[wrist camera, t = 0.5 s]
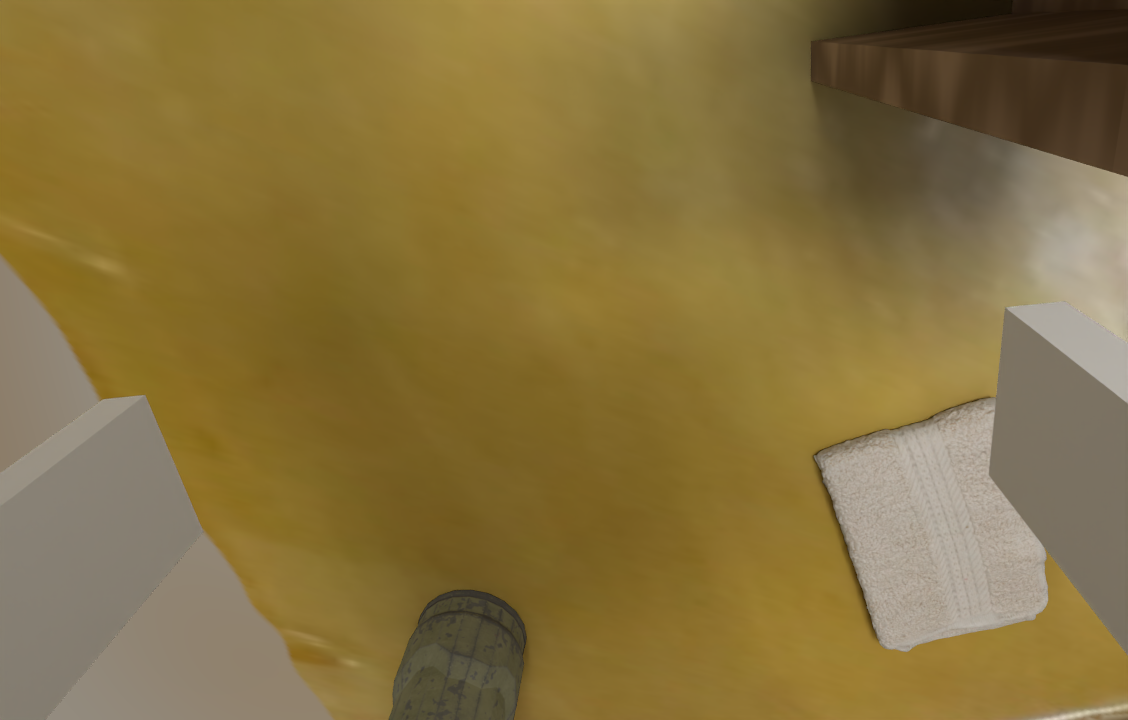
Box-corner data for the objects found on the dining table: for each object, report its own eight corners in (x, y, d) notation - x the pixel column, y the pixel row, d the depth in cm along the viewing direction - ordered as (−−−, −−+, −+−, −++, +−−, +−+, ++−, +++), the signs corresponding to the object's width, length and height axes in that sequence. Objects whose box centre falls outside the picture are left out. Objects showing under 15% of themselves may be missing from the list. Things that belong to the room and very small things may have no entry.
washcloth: (875, 636, 56) (888, 668, 53) (804, 444, 50) (814, 469, 47) (1042, 594, 53) (1065, 625, 50) (988, 385, 47) (1011, 407, 44)
